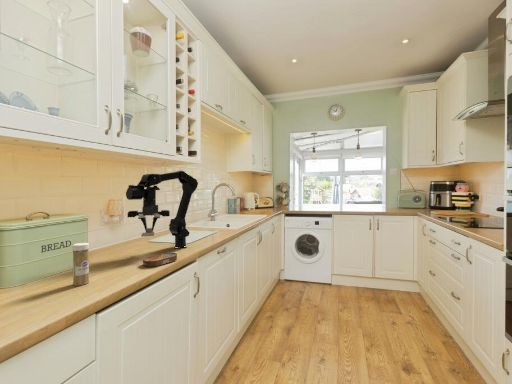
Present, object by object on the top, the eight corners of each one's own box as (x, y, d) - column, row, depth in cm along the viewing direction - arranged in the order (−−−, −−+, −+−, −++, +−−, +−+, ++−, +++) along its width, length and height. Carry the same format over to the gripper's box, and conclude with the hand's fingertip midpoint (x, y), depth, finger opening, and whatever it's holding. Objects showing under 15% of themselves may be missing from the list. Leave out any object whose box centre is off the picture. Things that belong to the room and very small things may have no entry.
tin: (169, 251, 117) (181, 252, 112) (169, 258, 117) (181, 260, 112) (138, 258, 105) (150, 260, 100) (138, 266, 105) (150, 268, 100)
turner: (145, 232, 127) (144, 228, 127) (155, 231, 129) (155, 227, 129) (141, 236, 112) (141, 232, 112) (153, 235, 114) (153, 231, 114)
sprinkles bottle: (81, 286, 82) (81, 245, 82) (69, 285, 82) (68, 245, 82) (92, 281, 86) (92, 242, 86) (80, 280, 87) (80, 242, 87)
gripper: (125, 200, 113) (125, 234, 113) (169, 199, 119) (169, 232, 119) (129, 199, 123) (129, 231, 123) (169, 199, 129) (169, 229, 129)
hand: (149, 231), depth 123 cm, fingers closed on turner, 2 cm apart
